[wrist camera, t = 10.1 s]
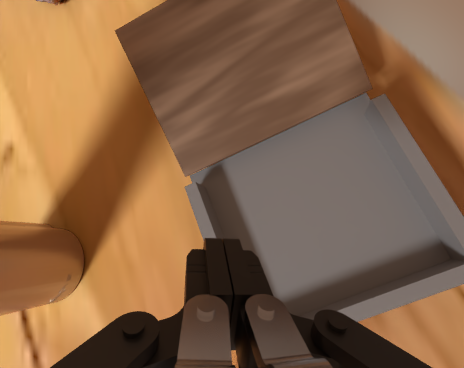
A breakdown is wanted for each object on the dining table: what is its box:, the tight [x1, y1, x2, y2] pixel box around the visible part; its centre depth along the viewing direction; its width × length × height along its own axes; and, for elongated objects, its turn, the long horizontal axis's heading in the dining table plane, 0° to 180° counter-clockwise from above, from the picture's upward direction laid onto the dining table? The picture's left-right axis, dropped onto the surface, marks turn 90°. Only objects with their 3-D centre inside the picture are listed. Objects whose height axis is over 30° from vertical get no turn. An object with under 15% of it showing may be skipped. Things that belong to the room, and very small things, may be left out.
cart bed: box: [185, 93, 464, 322], centre depth 27 cm, size 18×20×6 cm
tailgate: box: [115, 0, 372, 177], centre depth 28 cm, size 2×20×16 cm
